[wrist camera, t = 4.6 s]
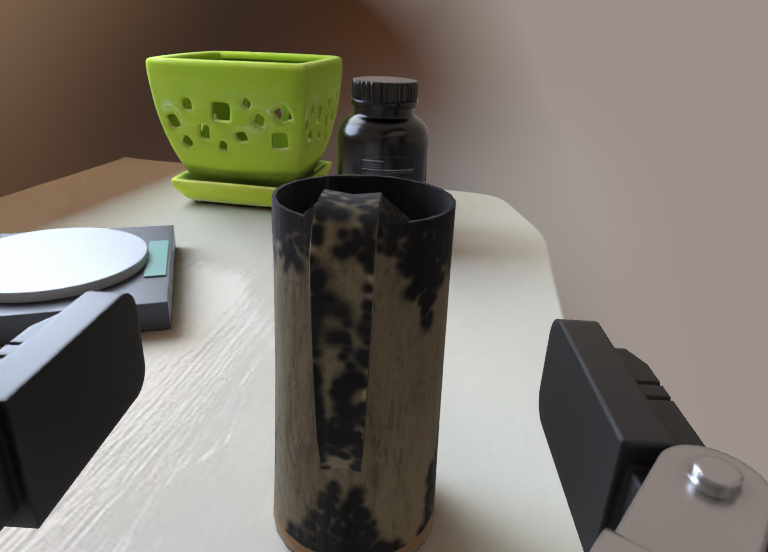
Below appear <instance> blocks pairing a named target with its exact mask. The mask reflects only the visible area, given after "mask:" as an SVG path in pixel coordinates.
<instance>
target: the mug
mask: <svg viewBox="0 0 768 552" xmlns="http://www.w3.org/2000/svg"><path fill="white" fill-rule="evenodd" d="M271 206H272V233H273V259H274V308H275V484H274V518H275V523H276V527H277V531H278V533H279V535H280V536H281V538H282V539H283V541H284V543H285V544H286V546H287V547H288V548H289V549H290V550H291V551H293V552H415V551H416V550H417V549H418V548H419V547H420V546H421V545H422V544H423V543H424V541H425V539H426V537H427V535H428V533H429V531H430V529H431V527H432V521H433V514H434V497H435V481H436V464H437V448H438V433H439V419H440V404H441V390H442V375H443V361H444V347H445V334H446V321H447V307H448V294H449V281H450V267H451V255H452V243H453V231H454V219H455V206H456V201H455V199H454V198H453V196H452V195H451V194H449V193H448V192H446V191H445V190H443V189H441V188H438V187H435V186H433V185H430V184H427V183H423V182H419V181H414V180H410V179H403V178H397V177H390V176H378V175H358V174H345V175H327V176H317V177H309V178H304V179H299V180H295V181H292V182H289V183H286V184H283V185H281V186H280V187H278V188H277V189H275V190H274V191H273V194H272V196H271Z"/></svg>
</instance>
